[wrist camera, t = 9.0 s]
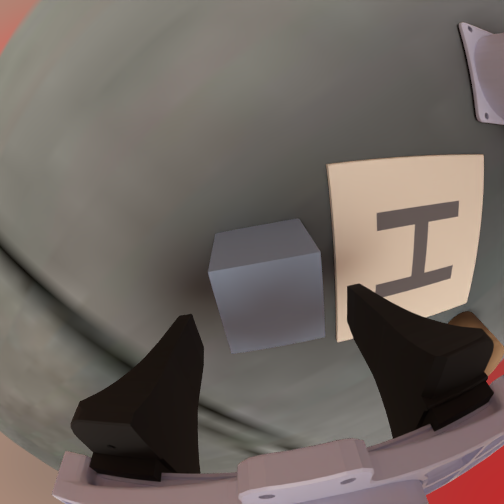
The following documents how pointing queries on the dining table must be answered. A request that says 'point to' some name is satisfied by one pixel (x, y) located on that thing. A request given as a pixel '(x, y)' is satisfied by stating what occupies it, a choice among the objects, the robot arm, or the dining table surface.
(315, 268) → the slate cube
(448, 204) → the letter board
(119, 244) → the dining table surface
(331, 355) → the dining table surface
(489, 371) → the walnut cylinder
